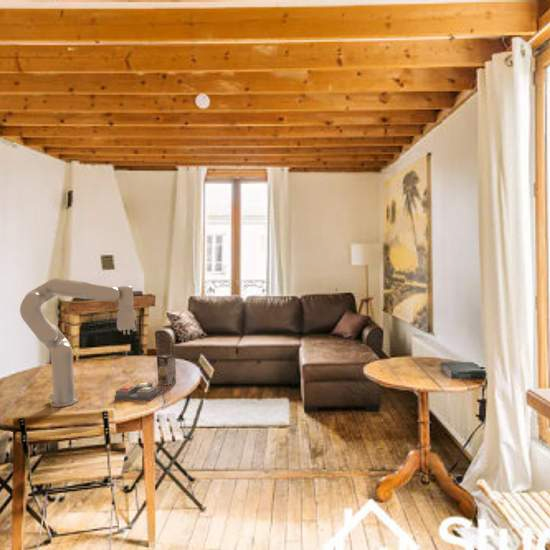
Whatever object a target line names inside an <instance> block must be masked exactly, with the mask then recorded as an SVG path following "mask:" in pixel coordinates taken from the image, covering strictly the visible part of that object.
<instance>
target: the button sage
mask: <svg viewBox="0 0 550 550" xmlns="http://www.w3.org/2000/svg"><path fill="white" fill-rule="evenodd" d="M150 390H151V387H145V388H142V391H150Z"/></svg>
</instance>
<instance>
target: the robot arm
mask: <svg viewBox="0 0 550 550" xmlns="http://www.w3.org/2000/svg"><path fill="white" fill-rule="evenodd" d="M133 290H134V289H133V287H132V286H131V285H122V286H107V285H106V286H105V285H99V284H93V283H89V282H86V281H79V280H72V279H71V280H70V279H65V278H58V277H54V278H51V279H49V280H47V281H46V282H45V283H43V284H41V285H39V286H37V287H35V288H34V289H32V290H31V291H29V292H27V293H26V294H25V296H24V298H23V299H22V301H21V304H20V307H19V314H20V316H21V318H22V320H23V322H24V323H25V324H26V325H27V326H28V328H29V329H30V331H32V333H33V334H34V335H35V336H36V338H37V339H38V341H39V342H41V343H42V344H44V345H45V347H47V349H48V350H49V351H50V361H51V375H52V389H53V390H52V391H53V393H50V394H49V396H48V400H52V401H51V402H50V406H51V407H52V408H53V407H54V408H60V407H61V408H62V407H68V406H71V405H74V404H77V402H78V401H79V397H78V396H76V395H75V393H76V391H75V389H76V388H75V377H74V376H75V375H74V363H73V356H74V355H73V347H72V344H71V342H70V341H69V340H68V339H67V337H66V336H65V335H64V334H63V332H61V330H60V329H59V328H58V326H56V325H55V324H54V323H51V322H50V320H48V318H47V317H46V315H45V314H44V313H43V312H42V308H41V307H42V306H43V304H45V303H46V302H48V301H49V300H51V299H53V298H55V297H57V296H60V297H69V298H77V299H83V300H84V299H85V300H87V299H89V300H97V301H102V302H103V301H105V302H115V301H117V300H118V306H117V310H118V311H117V315H116V328H117V330H118V331H119V332H121V333H122V334H123V335H124V341H125V343H130V342H132V334H133V333H134V332H136V331H138V319H137V313H136V310H135V306H134V304H135V302H134V291H133Z"/></svg>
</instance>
